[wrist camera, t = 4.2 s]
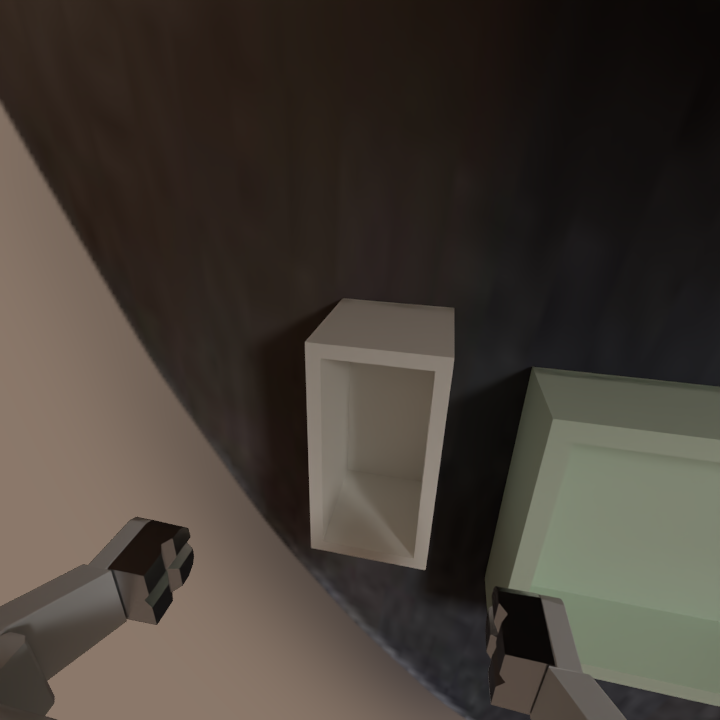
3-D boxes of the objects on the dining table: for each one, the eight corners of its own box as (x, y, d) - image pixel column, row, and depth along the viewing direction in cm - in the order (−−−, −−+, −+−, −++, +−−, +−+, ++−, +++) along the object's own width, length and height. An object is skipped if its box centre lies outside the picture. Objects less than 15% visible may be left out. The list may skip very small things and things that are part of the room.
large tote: (971, 413, 14) (1142, 493, 11) (800, 638, 20) (876, 741, 16) (532, 366, 17) (553, 418, 13) (484, 577, 22) (490, 655, 19)
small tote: (454, 307, 17) (454, 357, 12) (431, 483, 20) (425, 570, 16) (342, 298, 17) (304, 341, 13) (341, 468, 21) (311, 547, 17)
